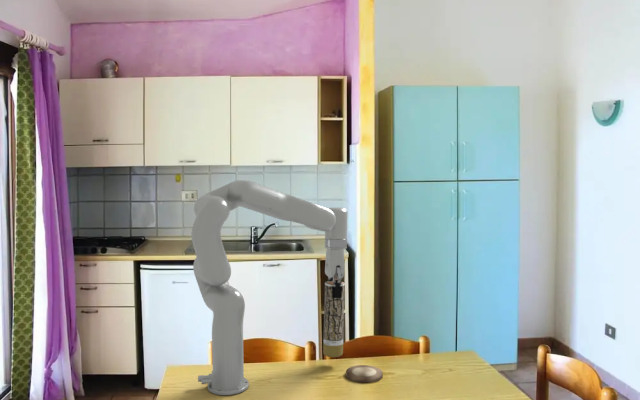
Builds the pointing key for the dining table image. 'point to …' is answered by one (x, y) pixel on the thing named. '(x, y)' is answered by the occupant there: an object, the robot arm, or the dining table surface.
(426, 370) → the dining table surface
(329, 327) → the bark-patterned cylinder
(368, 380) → the base
